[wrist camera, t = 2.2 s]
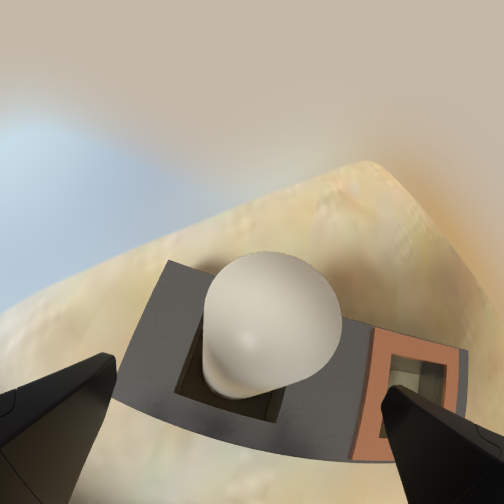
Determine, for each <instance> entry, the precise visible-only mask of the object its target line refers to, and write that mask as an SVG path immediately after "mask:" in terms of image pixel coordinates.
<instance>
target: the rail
mask: <svg viewBox="0 0 504 504" xmlns="http://www.w3.org/2000/svg"><path fill="white" fill-rule="evenodd" d="M215 277H216V276H213V275H210V274H208V273H205V272H202V271H199V270H196V269H193V268H190V267H188V266H185V265H182V264H179V263H176V262H174V261H171V260H168V262H167V264H166V266H165V268H164V270H163V272H162V274H161V276H160V278H159V280H158V282H157V284H156V286H155V288H154V290H153V292H152V295H151V297H150V299H149V301H148V303H147V305H146V307H145V310H144V312H143V314H142V316H141V318H140V321H139V323H138V325H137V327H136V330H135V332H134V334H133V336H132V339H131V341H130V343H129V346H128V348H127V350H126V353H125V355H124V358H123V360H122V363H121V365H120V367H119V370H118V372H117V381H116V385H115V388H114V391H113V394H112V397H111V398H113V399H115V400H117V401H119V402H121V403H123V404H125V405H128V406H130V407H132V408H134V409H136V410H138V411H141V412H143V413H145V414H148V415H150V416H152V417H155V418H157V419H160V420H162V421H165V422H167V423H170V424H172V425H175V426H178V427H180V428H183V429H186V430H189V431H192V432H195V433H198V434H201V435H204V436H207V437H210V438H214V439H217V440H221V441H224V442H228V443H231V444H235V445H239V446H243V447H247V448H252V449H256V450H261V451H265V452H270V453H275V454H281V455H287V456H293V457H300V458H307V459H315V460H324V461H335V462H349V463H395V460H394V457H393V454H392V451H391V448H390V445H389V442H388V438H379V434H380V429H381V424H382V418H383V417H382V412H381V403H382V401H383V399H384V397H385V395H386V393H387V388H388V380H389V372H390V369H393V370H398V371H403V372H409V373H414V374H420V379H419V389H418V394H419V395H421V396H423V397H425V398H426V399H428V400H430V401H432V402H434V403H436V404H438V405H440V406H441V407H443V408H445V409H447V410H449V411H451V412H453V413H455V414H457V415H459V416H461V417H463V418H465V412H466V401H467V387H468V350H464V349H460V348H455V347H451V346H447V345H443V344H439V343H435V342H432V341H428V340H424V339H420V338H416V337H412V336H409V335H405V334H401V333H398V332H394V331H390V330H387V329H383V328H379V327H376V326H372V325H369V324H365V323H362V322H358V321H355V320H352V319H348V318H345V317H342V331H341V336H340V341H339V343H338V346H337V349H336V350H335V352H334V354H333V356H332V357H331V359H330V360H329V361H328V363H327V364H326V365H325V366H324V367H323V368H322V369H320V370H319V371H318V372H316V373H315V374H313V375H312V376H310V377H308V378H306V379H304V380H301V381H298V382H295V383H292V384H290V385H287V386H284V387H281V388H278V389H275V390H273V393H272V397H271V401H270V404H269V408H268V411H267V415H266V418H265V421H263V420H258V419H254V418H251V417H247V416H243V415H239V414H236V413H232V412H229V411H226V410H222V409H219V408H216V407H213V406H210V405H207V404H204V403H201V402H198V401H195V400H192V399H189V398H186V397H184V396H181V395H178V394H179V391H180V389H181V386H182V383H183V380H184V378H185V375H186V372H187V369H188V367H189V364H190V361H191V358H192V356H193V353H194V350H195V347H196V345H197V342H198V339H199V337H200V334H201V331H202V329H203V323H204V304H205V298H206V295H207V292H208V289H209V287H210V285H211V283H212V282H213V280H214V279H215Z"/></svg>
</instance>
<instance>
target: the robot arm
mask: <svg viewBox="0 0 504 504" xmlns="http://www.w3.org/2000/svg"><path fill="white" fill-rule="evenodd" d="M116 381H117V370H116V359H115V357H114V355H111V354H107V353H104V352H102V353H99V354H97V355H95V356H92V357H90V358H88V359H85V360H83V361H81V362H78V363H76V364H74V365H71V366H69V367H67V368H64V369H62V370H60V371H57V372H55V373H52V374H50V375H48V376H45V377H43V378H40V379H38V380H35V381H33V382H31V383H28V384H26V385H23V386H21V387H18V388H17V390H16V389H13V390H10V391H8V392H5V393H2V394H0V504H68V503H69V500H70V498H71V495H72V493H73V490H74V488H75V485H76V483H77V480H78V478H79V475H80V473H81V471H82V468H83V466H84V464H85V461H86V459H87V457H88V454H89V452H90V450H91V448H92V445H93V443H94V441H95V439H96V437H97V434H98V432H99V430H100V428H101V426H102V423H103V421H104V418H105V415H106V412H107V409H108V406H109V403H110V400H111V397H112V394H113V391H114V388H115V385H116ZM381 412H382V417H383V421H384V425H385V429H386V433H387V438H388V442H389V445H390V448H391V451H392V454H393V457H394V460H395V463H396V466H397V469H398V472H399V475H400V478H401V481H402V485H403V488H404V491H405V494H406V498H407V501H408V504H504V436H502V435H499V434H497V433H494V432H492V431H490V430H487V429H485V428H483V427H481V426H479V425H477V424H474V423H473V422H471V421H469V420H467V419H465V418H463V417H461V416H459V415H457V414H455V413H453V412H451V411H449V410H447V409H445V408H443V407H441V406H440V405H438V404H436V403H434V402H432V401H430V400H428V399H426V398H425V397H423V396H421V395H419V394H417V393H415V392H413V391H412V390H410V389H408V388H406V387H404V386H402V385H393V386H391V387H390V388H389V390H388V391H387V393H386V395H385V397H384V399H383V401H382V403H381Z"/></svg>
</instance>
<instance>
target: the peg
mask: <svg viewBox="0 0 504 504" xmlns="http://www.w3.org/2000/svg"><path fill="white" fill-rule="evenodd" d="M341 331H342V314H341V309H340V305H339V302H338V299H337V297H336V294H335V292H334V290H333V289H332V287H331V285H330V284H329V283H328V281H327V280H326V279H325V278H324V277H323V276H322V275H321V273H320V272H318V271H317V270H316V269H315V268H314V267H312V266H311V265H309V264H308V263H306V262H304V261H303V260H301V259H299V258H296V257H294V256H291V255H287V254H284V253H278V252H257V253H252V254H248V255H245V256H242V257H240V258H238V259H236V260H234V261H233V262H231V263H229V264H228V265H227V266H226V267H224V268H223V269H222V270H221V271H220V272H219V273H218V275H217V276H216V277H215V279H214V280H213V282H212V283H211V285H210V287H209V289H208V292H207V295H206V298H205V304H204V323H203V377H204V380H205V382H206V384H207V386H208V387H209V388H210V390H211V391H212V392H213V393H215V394H216V395H218V396H220V397H222V398H224V399H228V400H241V399H245V398H248V397H252V396H255V395H259V394H262V393H265V392H268V391H272V390H275V389H278V388H281V387H284V386H287V385H290V384H292V383H295V382H298V381H301V380H304V379H306V378H308V377H310V376H312V375H313V374H315V373H316V372H318V371H319V370H320V369H322V368H323V367H324V366H325V365H326V364H327V363H328V361H329V360H330V359H331V357H332V356H333V354H334V352H335V350H336V349H337V346H338V343H339V341H340V336H341Z"/></svg>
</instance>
